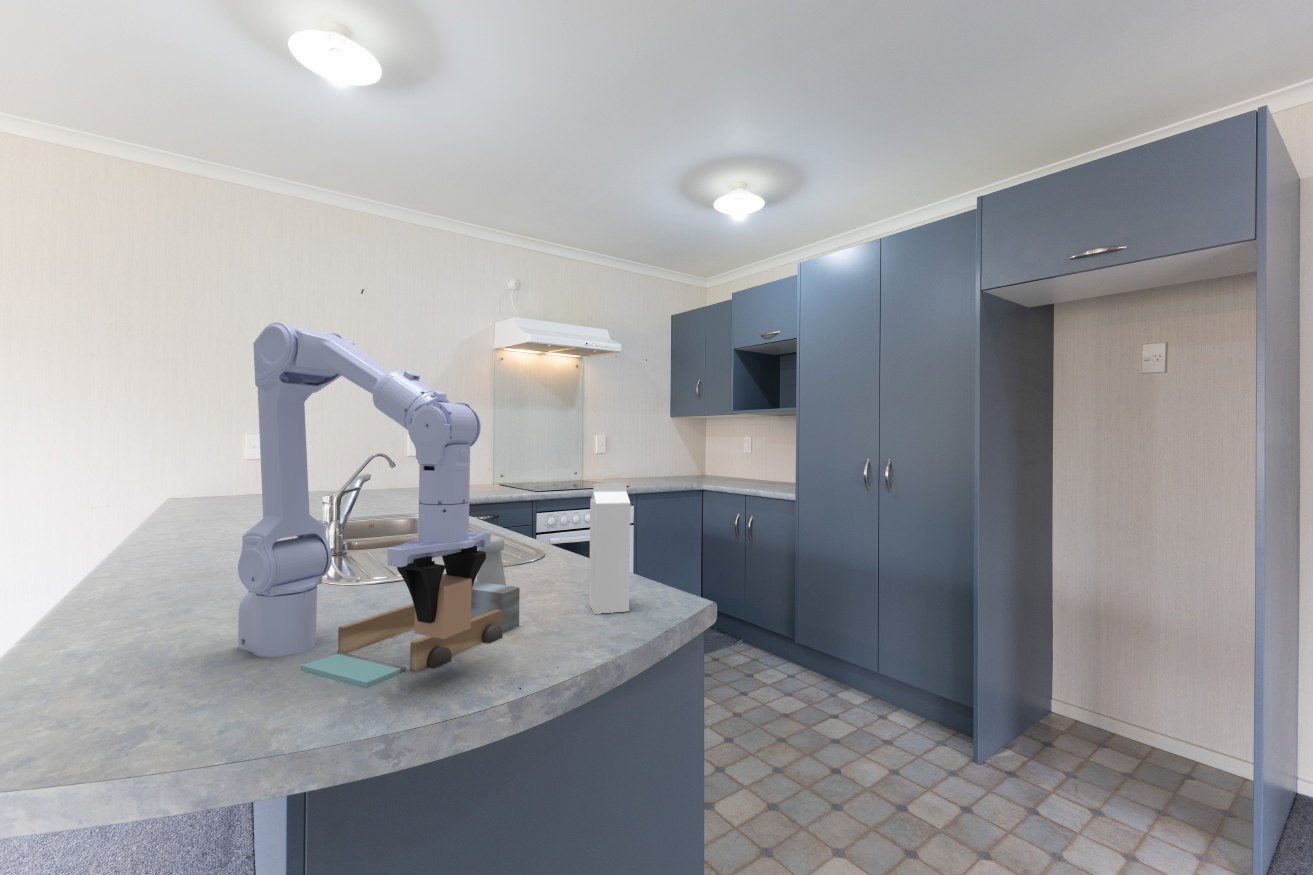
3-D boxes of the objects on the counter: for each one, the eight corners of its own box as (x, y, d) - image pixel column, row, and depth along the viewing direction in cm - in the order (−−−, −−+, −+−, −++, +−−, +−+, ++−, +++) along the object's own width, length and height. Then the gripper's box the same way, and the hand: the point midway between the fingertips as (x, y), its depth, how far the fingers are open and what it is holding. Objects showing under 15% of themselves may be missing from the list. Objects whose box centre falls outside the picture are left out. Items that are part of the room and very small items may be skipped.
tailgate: (342, 658, 78) (300, 672, 72) (342, 650, 78) (300, 664, 72) (406, 674, 73) (365, 690, 68) (406, 665, 73) (366, 681, 68)
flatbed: (331, 658, 79) (332, 607, 79) (443, 618, 97) (444, 576, 97) (423, 680, 72) (423, 624, 72) (525, 633, 90) (525, 588, 90)
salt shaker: (498, 620, 96) (498, 540, 96) (465, 618, 97) (466, 538, 97) (513, 610, 102) (514, 534, 102) (483, 608, 103) (483, 533, 103)
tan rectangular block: (414, 633, 70) (415, 582, 70) (442, 622, 74) (443, 574, 74) (443, 639, 68) (444, 586, 68) (470, 628, 72) (471, 578, 72)
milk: (629, 612, 102) (631, 484, 102) (594, 615, 100) (596, 484, 100) (621, 602, 108) (623, 481, 107) (588, 605, 106) (590, 481, 106)
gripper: (421, 510, 63) (419, 638, 63) (510, 499, 76) (508, 605, 76) (374, 506, 66) (372, 629, 66) (467, 496, 79) (465, 598, 79)
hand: (442, 615), depth 71 cm, fingers closed on tan rectangular block, 4 cm apart
